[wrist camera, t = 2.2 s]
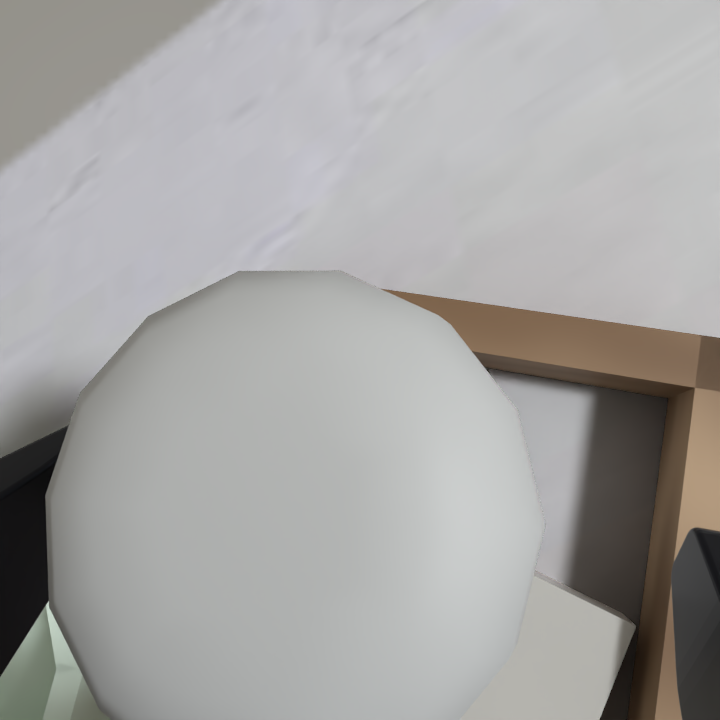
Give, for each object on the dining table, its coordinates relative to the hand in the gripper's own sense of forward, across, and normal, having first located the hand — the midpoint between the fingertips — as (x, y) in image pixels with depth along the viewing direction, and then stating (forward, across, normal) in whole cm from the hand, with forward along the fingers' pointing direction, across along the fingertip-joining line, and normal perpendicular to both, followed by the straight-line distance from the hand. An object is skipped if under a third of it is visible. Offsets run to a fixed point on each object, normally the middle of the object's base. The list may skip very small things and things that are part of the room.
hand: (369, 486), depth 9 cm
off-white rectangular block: (+3, -4, +9) cm, 10 cm away
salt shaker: (+6, 0, +6) cm, 8 cm away
